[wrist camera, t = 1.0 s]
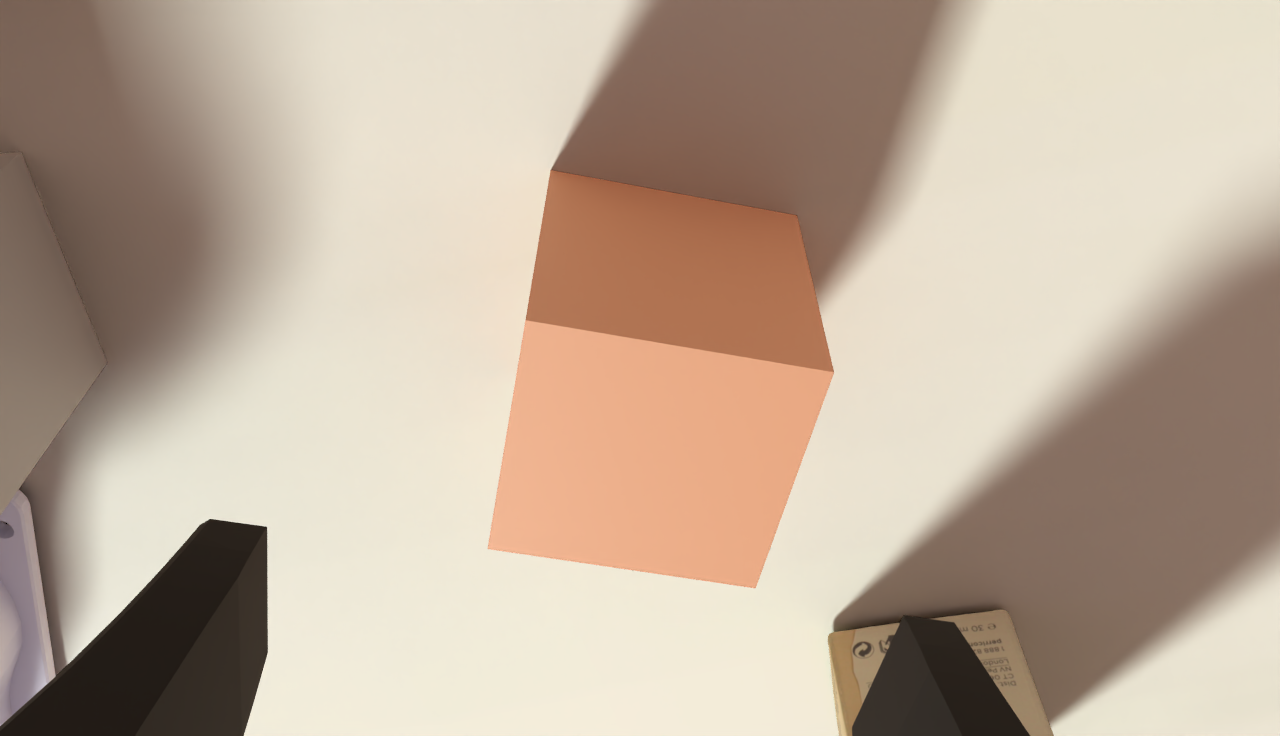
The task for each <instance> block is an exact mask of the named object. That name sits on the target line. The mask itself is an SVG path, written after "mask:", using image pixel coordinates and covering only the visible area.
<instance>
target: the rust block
mask: <svg viewBox="0 0 1280 736" xmlns="http://www.w3.org/2000/svg"><path fill="white" fill-rule="evenodd" d="M833 374H834V370H833V366H832V362H831V358H830V353H829V349H828V345H827V341H826V336H825V332H824V328H823V324H822V320H821V315H820V311H819V307H818V303H817V298H816V294H815V290H814V286H813V281H812V277H811V273H810V269H809V264H808V260H807V256H806V252H805V247H804V243H803V239H802V235H801V230H800V226H799V222H798V218H797V215H792V214H786V213H781V212H775V211H770V210H765V209H759V208H754V207H748V206H743V205H737V204H732V203H727V202H721V201H716V200H710V199H705V198H700V197H694V196H689V195H683V194H678V193H672V192H667V191H662V190H656V189H651V188H645V187H640V186H634V185H629V184H624V183H618V182H613V181H607V180H602V179H597V178H591V177H586V176H580V175H575V174H569V173H564V172H559V171H553V170H551V171H550V177H549V183H548V189H547V195H546V201H545V207H544V213H543V219H542V225H541V231H540V237H539V243H538V249H537V255H536V261H535V267H534V273H533V279H532V285H531V291H530V297H529V303H528V309H527V315H526V321H525V327H524V333H523V339H522V345H521V351H520V357H519V363H518V369H517V375H516V381H515V387H514V393H513V399H512V405H511V411H510V417H509V423H508V429H507V435H506V441H505V447H504V453H503V459H502V465H501V471H500V477H499V483H498V490H497V496H496V502H495V508H494V514H493V520H492V526H491V532H490V538H489V544H488V549H492V550H499V551H505V552H512V553H519V554H526V555H533V556H539V557H546V558H553V559H560V560H567V561H573V562H580V563H587V564H594V565H601V566H608V567H614V568H621V569H628V570H635V571H642V572H648V573H655V574H662V575H669V576H676V577H682V578H689V579H696V580H703V581H710V582H716V583H723V584H730V585H737V586H744V587H751V588H756V585H757V583H758V580H759V577H760V574H761V572H762V569H763V566H764V563H765V561H766V558H767V555H768V552H769V550H770V547H771V544H772V541H773V539H774V536H775V533H776V530H777V528H778V525H779V522H780V519H781V517H782V514H783V511H784V508H785V506H786V503H787V500H788V497H789V495H790V492H791V489H792V486H793V484H794V481H795V478H796V475H797V473H798V470H799V467H800V464H801V462H802V459H803V456H804V453H805V451H806V448H807V445H808V442H809V440H810V437H811V434H812V431H813V429H814V426H815V423H816V420H817V418H818V415H819V412H820V409H821V407H822V404H823V401H824V398H825V396H826V393H827V390H828V387H829V385H830V382H831V379H832V376H833Z"/></svg>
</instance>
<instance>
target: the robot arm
mask: <svg viewBox="0 0 1280 736" xmlns="http://www.w3.org/2000/svg"><path fill="white" fill-rule="evenodd" d="M2 521H3V522H6V523H8V524H9V525H7V524H4V523H3V522H2ZM267 653H268V629H267V527H264V526H257V525H249V524H242V523H235V522H228V521H220V520H213V519H209V520H208V521H206V522H204V523H203V524H201V525H200V526H199V527H198V528H197V529H196V530H195V531H194V533H193V534H192V535H191V536H190V537H189V539H188V540H187V541H186V542H185V543H184V544H183V545H182V547H181V548H180V549H179V550H178V551H177V552H176V553H175V555H174V556H173V557H172V558H171V559H170V560H169V561H168V562H167V564H166V565H165V566H164V567H163V568H162V569H161V570H160V571H159V572H158V573H157V575H156V576H155V577H154V578H153V579H152V580H151V581H150V582H149V583H148V584H147V585H146V586H145V588H144V589H143V590H142V591H141V592H140V593H139V594H138V595H137V596H136V597H135V598H134V599H133V600H132V601H131V602H130V603H129V604H128V605H127V606H126V608H125V609H124V610H123V611H122V612H121V613H120V614H119V615H118V616H117V617H116V618H115V619H114V620H113V621H112V622H111V623H110V624H109V625H108V626H107V627H106V628H105V629H104V630H103V631H102V632H101V633H100V634H99V635H98V636H97V637H96V638H95V639H94V640H93V641H92V642H91V643H90V644H89V645H88V646H87V647H85V648H84V649H83V650H82V651H81V652H80V653H79V654H78V655H77V656H76V657H75V658H74V659H73V660H72V661H71V662H70V663H69V664H68V665H67V666H66V667H65V668H64V669H63V670H62V671H61V672H60V673H59V674H58V675H57V676H56V675H55V668H54V661H53V654H52V648H51V641H50V634H49V628H48V621H47V614H46V607H45V601H44V594H43V587H42V581H41V574H40V567H39V560H38V554H37V547H36V540H35V533H34V527H33V520H32V513H31V507H30V503H29V501H28V498H27V497H26V496H25V495H24V494H23V493H22V492H21V491H20V490H18V491H17V492H16V494H15V495H14V497H13V498H12V500H11V501H10V502H9V504H8V505H7V507H6V508H5V510H4V511H3V512H2V514H1V515H0V736H244V732H245V729H246V726H247V722H248V719H249V716H250V712H251V709H252V706H253V702H254V699H255V695H256V692H257V688H258V685H259V681H260V678H261V674H262V671H263V667H264V664H265V660H266V657H267ZM852 736H1030V735H1029V733H1028V732H1027V730H1026V729H1025V727H1024V726H1023V724H1022V723H1021V721H1020V720H1019V718H1018V717H1017V715H1016V714H1015V712H1014V711H1013V709H1012V708H1011V706H1010V705H1009V703H1008V702H1007V700H1006V699H1005V697H1004V696H1003V694H1002V693H1001V691H1000V690H999V688H998V687H997V685H996V684H995V682H994V681H993V679H992V678H991V676H990V675H989V673H988V672H987V670H986V669H985V667H984V666H983V664H982V663H981V661H980V660H979V658H978V657H977V655H976V654H975V652H974V651H973V649H972V648H971V646H970V645H969V643H968V642H967V640H966V639H965V637H964V636H963V634H962V633H961V631H960V630H959V628H958V627H957V625H956V624H955V622H948V621H941V620H934V619H927V618H920V617H912V616H905V615H903V618H902V620H901V622H900V624H899V626H898V628H897V631H896V633H895V635H894V637H893V639H892V641H891V644H890V646H889V648H888V650H887V652H886V654H885V657H884V659H883V661H882V663H881V665H880V667H879V670H878V672H877V674H876V676H875V678H874V680H873V683H872V685H871V687H870V689H869V691H868V693H867V696H866V698H865V700H864V702H863V704H862V706H861V709H860V711H859V713H858V715H857V717H856V719H855V722H854V724H853V726H852Z"/></svg>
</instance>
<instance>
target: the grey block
mask: <svg viewBox="0 0 1280 736" xmlns="http://www.w3.org/2000/svg"><path fill="white" fill-rule="evenodd" d="M106 364H107V360H106V358H105V355H104V353H103V350H102V348H101V346H100V343H99V341H98V338H97V336H96V333H95V331H94V328H93V326H92V324H91V321H90V319H89V316H88V314H87V311H86V309H85V306H84V304H83V302H82V299H81V297H80V294H79V292H78V289H77V287H76V284H75V282H74V280H73V277H72V275H71V272H70V270H69V267H68V265H67V262H66V260H65V258H64V255H63V253H62V250H61V248H60V245H59V243H58V240H57V238H56V235H55V233H54V231H53V228H52V226H51V223H50V221H49V218H48V216H47V213H46V211H45V209H44V206H43V204H42V201H41V199H40V196H39V194H38V191H37V189H36V187H35V184H34V182H33V179H32V177H31V174H30V172H29V169H28V167H27V165H26V162H25V160H24V157H23V155H22V152H7V153H0V515H1V514H2V512H3V511H4V510H5V508H6V507H7V505H8V504H9V502H10V501H11V500H12V498H13V497H14V495H15V494H16V492H17V491H18V490H19V488H20V487H21V485H22V484H23V482H24V481H25V480H26V478H27V477H28V475H29V474H30V472H31V471H32V470H33V468H34V467H35V465H36V464H37V462H38V461H39V460H40V458H41V457H42V455H43V454H44V453H45V451H46V450H47V448H48V447H49V445H50V444H51V443H52V441H53V440H54V438H55V437H56V435H57V434H58V433H59V431H60V430H61V428H62V427H63V425H64V424H65V423H66V421H67V420H68V418H69V417H70V415H71V414H72V413H73V411H74V410H75V408H76V407H77V405H78V404H79V403H80V401H81V400H82V398H83V397H84V395H85V394H86V393H87V391H88V390H89V388H90V387H91V385H92V384H93V383H94V381H95V380H96V378H97V377H98V375H99V374H100V373H101V371H102V370H103V368H104V367H105V366H106Z"/></svg>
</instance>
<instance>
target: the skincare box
mask: <svg viewBox="0 0 1280 736" xmlns="http://www.w3.org/2000/svg"><path fill="white" fill-rule="evenodd" d="M930 619H934V620H941V621H948V622H955V624H956V625H957V627H958V628H959V630H960V631H961V633H962V634H963V636H964V637H965V639H966V640H967V642H968V643H969V645H970V646H971V648H972V649H973V651H974V652H975V654H976V655H977V657H978V658H979V660H980V661H981V663H982V664H983V666H984V667H985V669H986V670H987V672H988V673H989V675H990V676H991V678H992V679H993V681H994V682H995V684H996V685H997V687H998V688H999V690H1000V691H1001V693H1002V694H1003V696H1004V697H1005V699H1006V700H1007V702H1008V703H1009V705H1010V706H1011V708H1012V709H1013V711H1014V712H1015V714H1016V715H1017V717H1018V718H1019V720H1020V721H1021V723H1022V724H1023V726H1024V727H1025V729H1026V730H1027V732H1028V733H1029V735H1030V736H1054V735H1053V732H1052V730H1051V727H1050V724H1049V722H1048V719H1047V716H1046V714H1045V711H1044V708H1043V705H1042V703H1041V700H1040V697H1039V694H1038V692H1037V689H1036V686H1035V683H1034V681H1033V678H1032V675H1031V672H1030V670H1029V667H1028V664H1027V661H1026V659H1025V656H1024V653H1023V650H1022V648H1021V645H1020V642H1019V639H1018V637H1017V634H1016V631H1015V628H1014V625H1013V622H1012V620H1011V617H1010V615H1009V613H1008V612H1007V611H1006V610H1002V609H1000V610H993V611H988V612H980V613H971V614H963V615H957V616H947V617H938V618H930ZM899 624H900V623H893V624H887V625H880V626H872V627H866V628H860V629H853V630H846V631H838V632H833V633H831V634H829V636H828V645H829V653H830V663H831V673H832V683H833V692H834V700H835V708H836V717H837V724H838V731H839V736H852V726H853V724H854V722H855V719H856V717H857V715H858V713H859V711H860V709H861V706H862V704H863V702H864V700H865V698H866V696H867V693H868V691H869V689H870V687H871V685H872V683H873V680H874V678H875V676H876V674H877V672H878V670H879V667H880V665H881V663H882V661H883V659H884V657H885V654H886V652H887V650H888V648H889V646H890V644H891V641H892V639H893V637H894V635H895V633H896V631H897V628H898V626H899Z"/></svg>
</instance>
